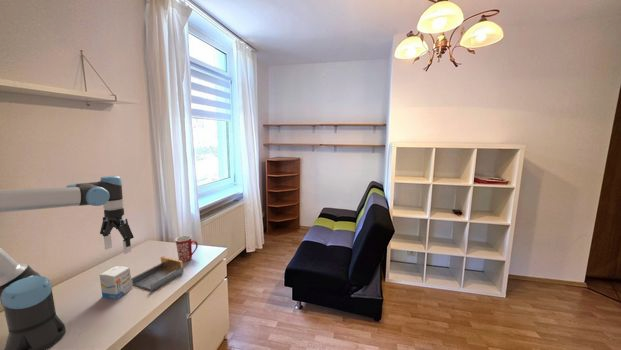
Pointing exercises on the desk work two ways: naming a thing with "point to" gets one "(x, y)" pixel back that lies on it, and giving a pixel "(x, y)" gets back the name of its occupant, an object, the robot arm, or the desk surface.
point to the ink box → (115, 282)
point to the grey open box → (159, 274)
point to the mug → (185, 247)
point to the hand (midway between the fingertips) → (117, 250)
